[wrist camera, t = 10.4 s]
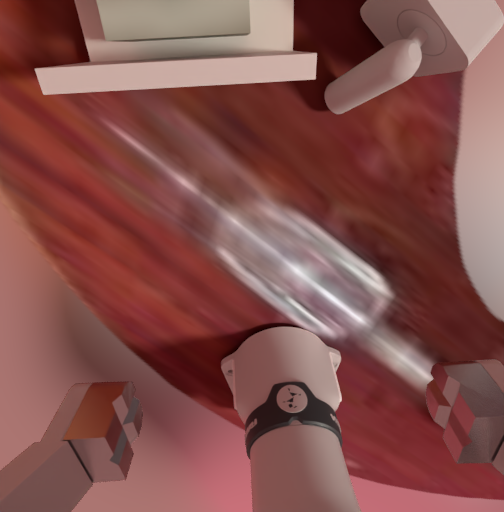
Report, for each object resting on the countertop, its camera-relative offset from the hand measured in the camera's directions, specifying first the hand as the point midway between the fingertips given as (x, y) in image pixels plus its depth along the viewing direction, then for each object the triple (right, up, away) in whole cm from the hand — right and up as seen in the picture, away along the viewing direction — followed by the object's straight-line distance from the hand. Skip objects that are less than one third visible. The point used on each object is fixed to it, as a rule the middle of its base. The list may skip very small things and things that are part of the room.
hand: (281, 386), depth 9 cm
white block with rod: (+10, +22, +24) cm, 34 cm away
